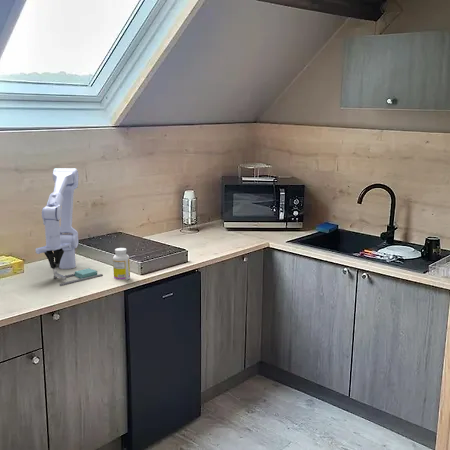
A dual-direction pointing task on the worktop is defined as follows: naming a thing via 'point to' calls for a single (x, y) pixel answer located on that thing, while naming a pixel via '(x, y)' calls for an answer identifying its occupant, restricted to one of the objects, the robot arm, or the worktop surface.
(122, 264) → the supplement bottle
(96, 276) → the channel
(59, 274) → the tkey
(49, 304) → the worktop surface
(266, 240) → the worktop surface
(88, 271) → the cover
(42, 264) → the worktop surface
